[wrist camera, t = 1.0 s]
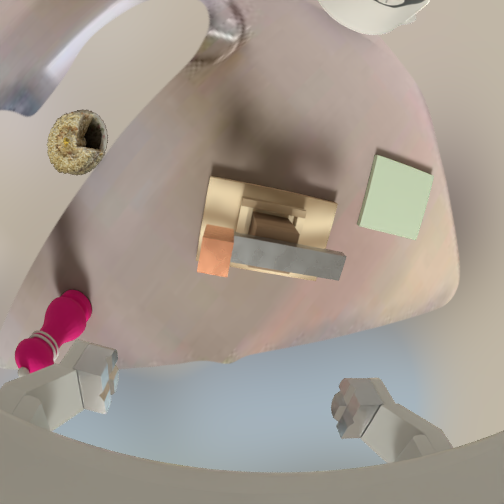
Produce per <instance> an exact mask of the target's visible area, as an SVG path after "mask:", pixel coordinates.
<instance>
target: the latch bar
mask: <svg viewBox="0 0 504 504" xmlns="http://www.w3.org/2000/svg"><path fill="white" fill-rule="evenodd" d="M345 260H346V256H345V255H344V254H343V253H342V252H338V251H333V250H328V249H322V248H317V247H312V246H307V245H302V244H297V243H291V242H286V241H281V240H276V239H270V238H265V237H260V236H254V235H249V234H244V233H238V232H234V229H231V228H226V227H220V226H215V225H209V224H207V225H206V228H205V231H204V235H203V238H202V244H201V250H200V256H199V263H198V269H197V272H200V273H206V274H212V275H217V276H223V277H227V275H228V270H229V265H230V262H233V263H239V264H245V265H250V266H256V267H262V268H268V269H273V270H279V271H285V272H291V273H297V274H303V275H309V276H315V277H321V278H327V279H333V280H339V278H340V275H341V272H342V269H343V266H344V263H345Z"/></svg>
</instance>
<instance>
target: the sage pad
mask: <svg viewBox="0 0 504 504" xmlns="http://www.w3.org/2000/svg"><path fill="white" fill-rule="evenodd" d="M433 178H434V176H433V175H430V174H428V173H425V172H423V171H420V170H418V169H415V168H413V167H410V166H407V165H405V164H402V163H399V162H396V161H394V160H391V159H388V158H385V157H382V156H379V155H375V157H374V161H373V165H372V169H371V173H370V177H369V181H368V185H367V189H366V193H365V197H364V201H363V205H362V208H361V212H360V216H359V219H358V223H357V225H358V226H360V227H365V228H369V229H373V230H377V231H381V232H385V233H389V234H393V235H397V236H401V237H405V238H409V239H412V240H416V239H417V236H418V233H419V229H420V226H421V223H422V219H423V216H424V212H425V209H426V205H427V202H428V198H429V194H430V190H431V186H432V182H433Z"/></svg>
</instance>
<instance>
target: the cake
mask: <svg viewBox="0 0 504 504" xmlns="http://www.w3.org/2000/svg"><path fill="white" fill-rule="evenodd" d="M53 126H54V127H52V129H51V131H50V134H49V136H48V144H47V146H48V156H49V159H50V162H51V164H54V167H55V169H56V170H57V171H58V172H59V173H61V172H63V173H64V174H66V173H70V174H72V175H74V174H75V175H82V174H86V173H87V172H90V171H91V170H92V169H94V168H95V167H96V166H97V165H98V164H99V162H100V161H101V160H102V158H103V156H104V154H105V150H106V148H107V143H108V142H107V141H108V140H107V139H108V135H107V129H106V125H105V124H104V122H103V120H102V119H101V118H100V116H98V115H97V114H96V113H94V112H92V111H89V110H77V111H75V112H71V113H69V114H67V113H66V114H64V115H62V116H61V117H60V118H58V119H57V121H56V123H55V124H54V125H53Z"/></svg>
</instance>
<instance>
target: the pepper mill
mask: <svg viewBox="0 0 504 504" xmlns="http://www.w3.org/2000/svg"><path fill="white" fill-rule="evenodd" d="M91 313H92V308H91V304H90V302H89V300H88V299H87V297H86V296H85V295H84V294H83V293H81V292H79V291H77V290H68V291H66V292H65V293H64V294H63V295H62V296H61V297H58V298H56V299H54V300H53V301H52V302H51V303H50V305H49V306H48V308H47V311H46V314H45V320H44V324H43V327H42V328H41V330H40V331H35V332H33V333H32V335H31V336H30V337H29V338H28V339H24V340H23V341H21V342H20V343H19V345H18V346H17V348H16V351H15V361H16V364H17V366H18V368H19V370H18V376H19V378H20V377H22V376H25V375H28V374H30V373H33V372H35V371H38V370H40V369H43V368H45V367H48V366H51V365H53V364H54V361H55V360H56V358H57V357H58V355H59V348H60V346H61V345H62V344H63V343H66V342H69V341H72V340H74V339H76V338H77V337H79V336H80V335H81V334H82V333H83V331H84V330H85V327H86V322H87V321H88V319H89V318H90V316H91Z"/></svg>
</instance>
